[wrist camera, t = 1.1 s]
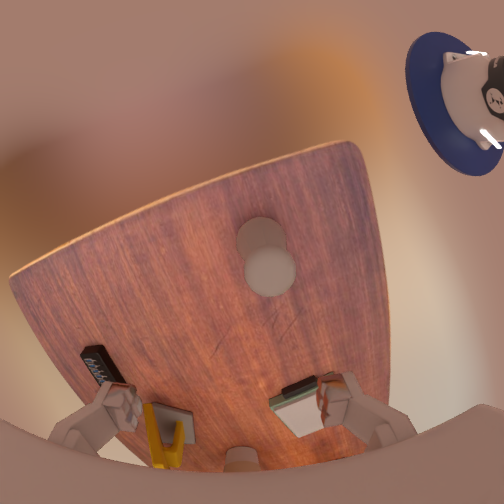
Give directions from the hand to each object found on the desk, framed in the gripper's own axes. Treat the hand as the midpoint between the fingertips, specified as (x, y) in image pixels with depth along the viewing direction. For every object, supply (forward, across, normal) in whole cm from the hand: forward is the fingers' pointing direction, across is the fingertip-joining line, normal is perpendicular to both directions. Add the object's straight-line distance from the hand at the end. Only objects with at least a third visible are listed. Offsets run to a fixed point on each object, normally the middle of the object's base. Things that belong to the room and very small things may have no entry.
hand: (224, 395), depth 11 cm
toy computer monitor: (+24, +16, +36) cm, 46 cm away
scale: (+24, -11, +31) cm, 41 cm away
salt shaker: (+25, -3, 0) cm, 25 cm away
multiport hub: (+24, +24, +21) cm, 40 cm away
